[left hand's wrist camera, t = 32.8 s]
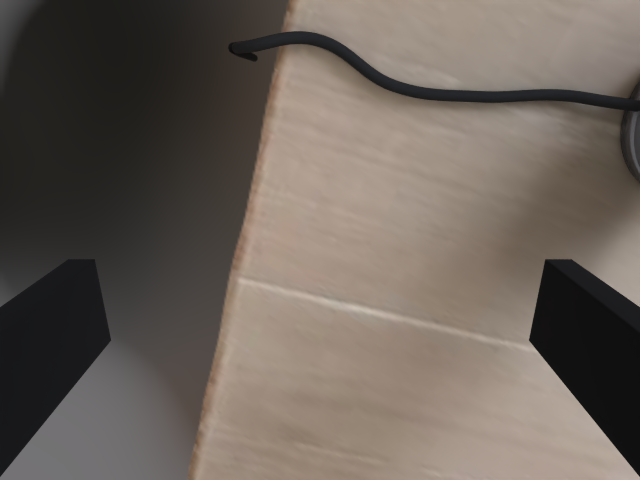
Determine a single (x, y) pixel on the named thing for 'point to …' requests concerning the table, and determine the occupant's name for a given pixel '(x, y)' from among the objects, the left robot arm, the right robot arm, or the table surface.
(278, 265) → the table surface
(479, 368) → the table surface
